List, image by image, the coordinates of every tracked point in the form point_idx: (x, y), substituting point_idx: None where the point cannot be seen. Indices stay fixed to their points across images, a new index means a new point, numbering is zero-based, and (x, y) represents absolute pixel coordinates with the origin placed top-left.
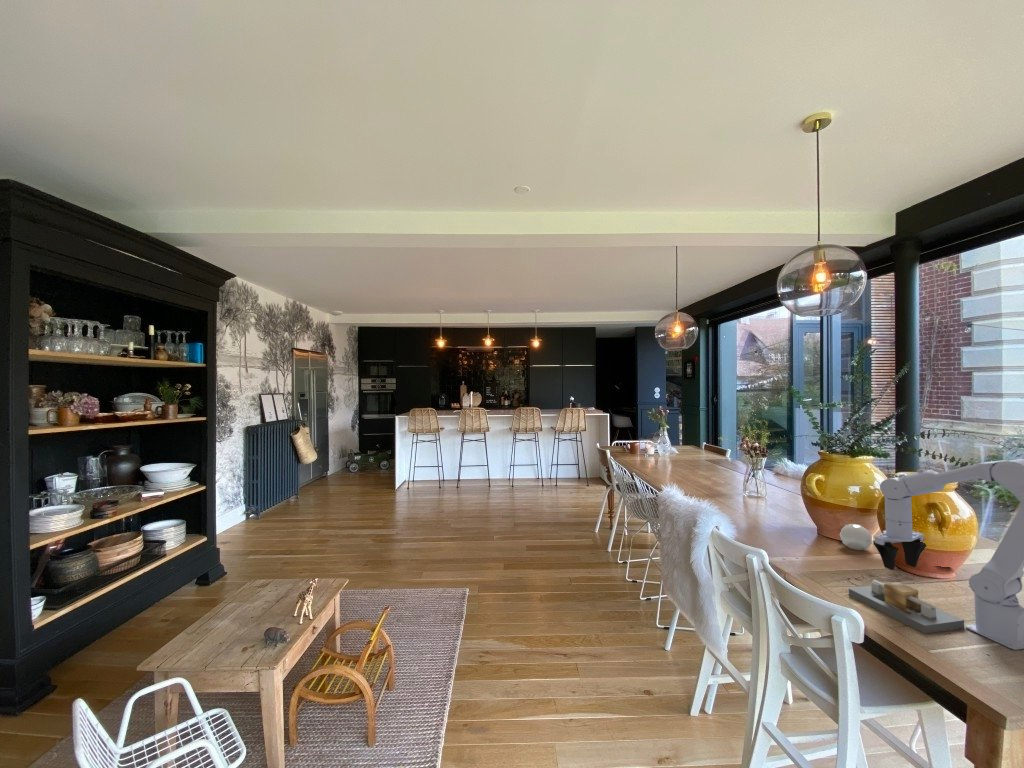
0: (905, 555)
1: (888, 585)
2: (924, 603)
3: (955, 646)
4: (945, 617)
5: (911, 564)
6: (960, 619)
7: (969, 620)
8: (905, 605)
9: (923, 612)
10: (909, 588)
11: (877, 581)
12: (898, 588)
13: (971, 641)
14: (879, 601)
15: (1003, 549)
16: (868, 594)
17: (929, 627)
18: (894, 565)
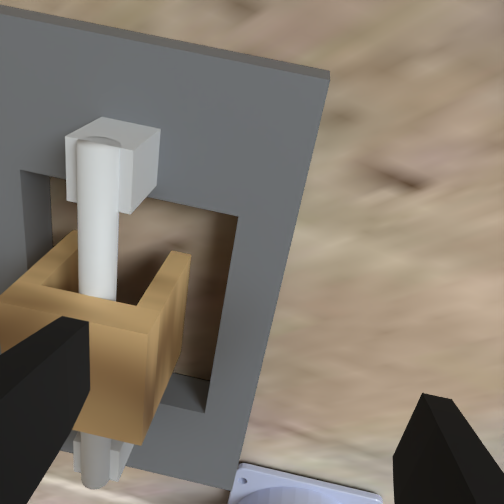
0: (464, 501)
1: (9, 326)
2: (82, 458)
3: (52, 474)
4: (177, 452)
5: (407, 458)
6: (223, 484)
7: (349, 448)
8: None
9: None
10: (114, 412)
11: (84, 187)
12: None
13: (146, 488)
14: (4, 238)
15: None
16: (17, 148)
17: None
18: (57, 447)
